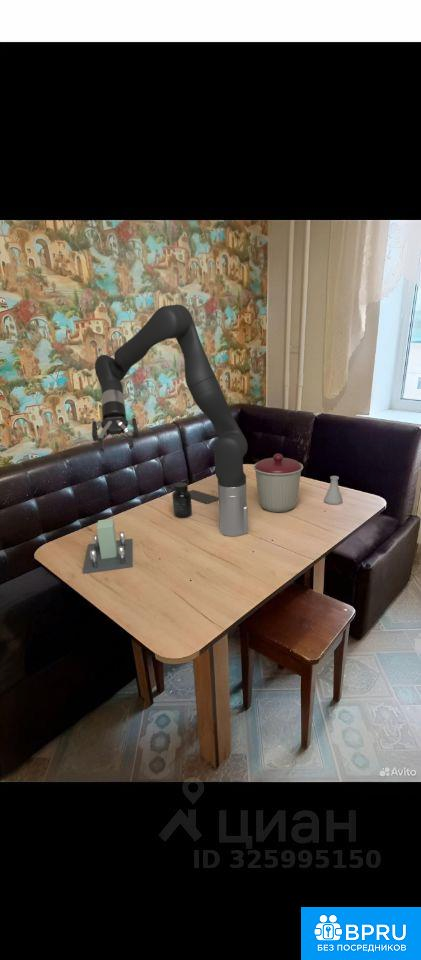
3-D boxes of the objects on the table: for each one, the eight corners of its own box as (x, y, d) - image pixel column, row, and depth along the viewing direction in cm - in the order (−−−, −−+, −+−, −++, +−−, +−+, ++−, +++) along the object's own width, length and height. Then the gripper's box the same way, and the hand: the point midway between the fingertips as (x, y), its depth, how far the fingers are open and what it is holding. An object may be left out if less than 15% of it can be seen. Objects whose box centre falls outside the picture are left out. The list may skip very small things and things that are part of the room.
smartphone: (193, 489, 176) (219, 497, 165) (193, 491, 176) (219, 499, 165) (180, 494, 171) (206, 502, 160) (180, 496, 171) (207, 505, 160)
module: (117, 547, 128) (113, 518, 124) (116, 556, 122) (112, 526, 119) (102, 549, 127) (98, 520, 124) (101, 558, 121) (96, 528, 118)
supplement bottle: (180, 510, 156) (177, 480, 152) (195, 512, 153) (193, 482, 149) (170, 516, 151) (167, 486, 147) (186, 519, 148) (183, 489, 144)
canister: (262, 496, 166) (262, 446, 159) (306, 501, 159) (308, 449, 152) (247, 513, 151) (246, 458, 144) (295, 520, 143) (296, 463, 136)
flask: (327, 496, 162) (328, 473, 159) (345, 500, 158) (347, 475, 155) (320, 502, 157) (321, 478, 153) (339, 506, 153) (340, 481, 149)
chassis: (132, 541, 133) (131, 527, 132) (132, 567, 119) (130, 551, 117) (89, 547, 131) (86, 532, 130) (83, 573, 116) (80, 557, 115)
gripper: (89, 401, 129) (91, 445, 122) (134, 398, 131) (138, 441, 124) (93, 415, 136) (95, 457, 129) (136, 412, 138) (140, 453, 131)
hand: (116, 449), depth 127 cm, fingers open, 8 cm apart
